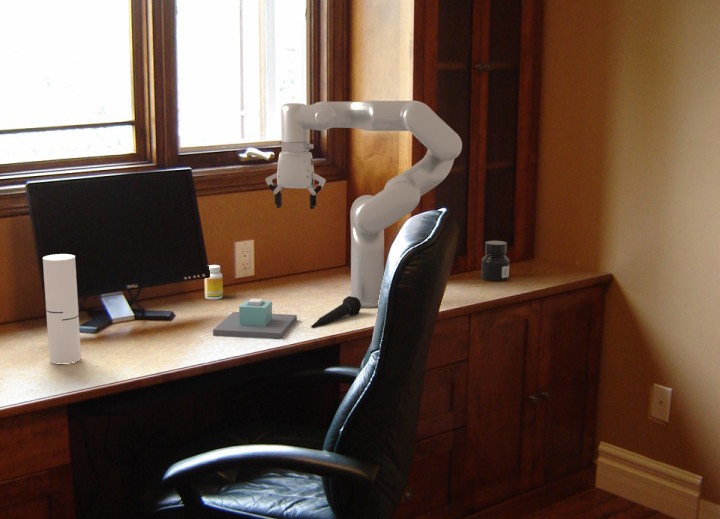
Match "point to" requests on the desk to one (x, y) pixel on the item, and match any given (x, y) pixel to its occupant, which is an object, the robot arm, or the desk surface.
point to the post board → (271, 330)
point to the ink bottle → (495, 262)
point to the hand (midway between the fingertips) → (295, 207)
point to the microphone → (340, 311)
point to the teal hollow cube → (255, 314)
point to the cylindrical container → (62, 308)
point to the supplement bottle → (214, 283)
